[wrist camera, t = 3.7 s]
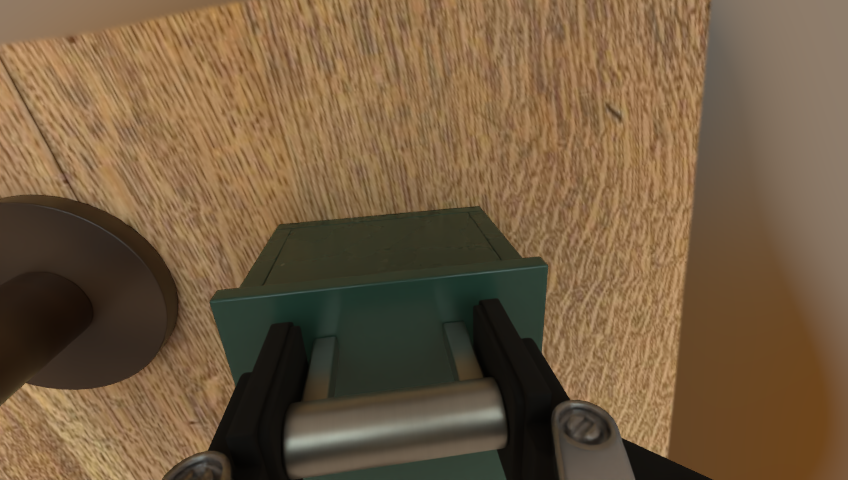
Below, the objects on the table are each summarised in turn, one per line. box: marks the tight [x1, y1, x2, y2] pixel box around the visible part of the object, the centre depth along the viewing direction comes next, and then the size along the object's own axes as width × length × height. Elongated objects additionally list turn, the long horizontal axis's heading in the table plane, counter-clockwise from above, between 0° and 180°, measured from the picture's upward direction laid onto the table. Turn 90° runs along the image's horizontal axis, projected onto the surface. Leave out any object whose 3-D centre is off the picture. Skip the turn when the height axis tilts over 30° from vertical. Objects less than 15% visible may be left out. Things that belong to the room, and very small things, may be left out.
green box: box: [239, 206, 522, 288], centre depth 19 cm, size 12×10×8 cm
